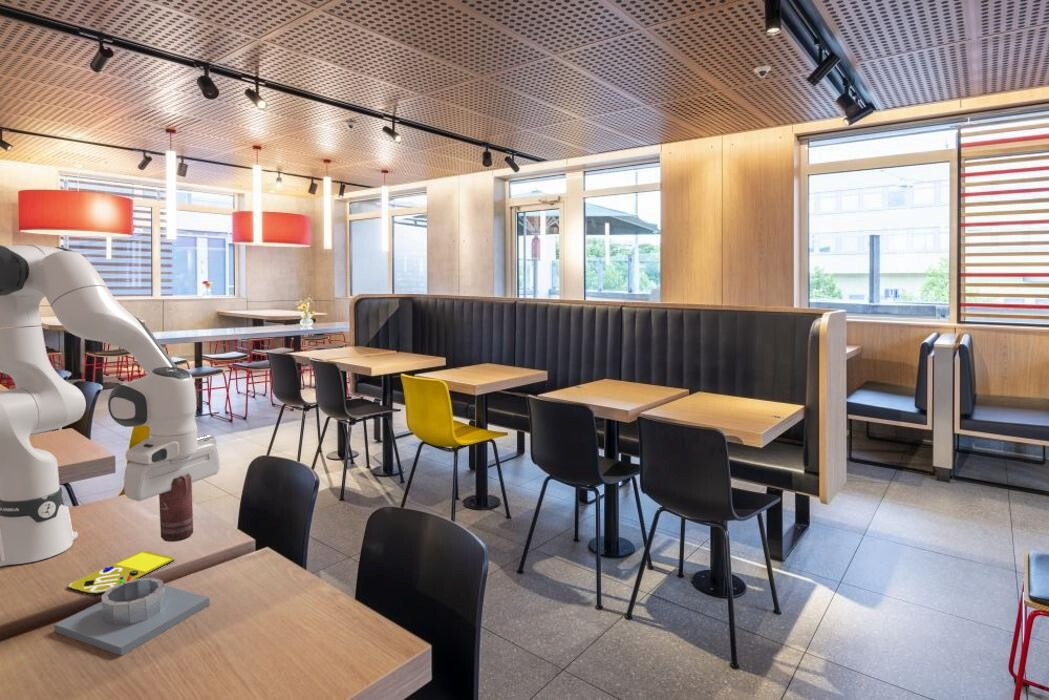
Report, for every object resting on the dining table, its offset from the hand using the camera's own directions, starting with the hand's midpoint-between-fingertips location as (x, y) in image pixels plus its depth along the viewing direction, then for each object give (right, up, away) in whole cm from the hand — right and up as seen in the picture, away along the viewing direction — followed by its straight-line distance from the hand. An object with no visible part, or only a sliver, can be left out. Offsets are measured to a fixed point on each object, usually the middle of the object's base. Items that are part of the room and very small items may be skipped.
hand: (176, 506), depth 132 cm
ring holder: (0, -16, -14) cm, 22 cm away
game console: (-13, -16, +3) cm, 21 cm away
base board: (0, -18, -14) cm, 23 cm away
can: (0, -7, +1) cm, 7 cm away
